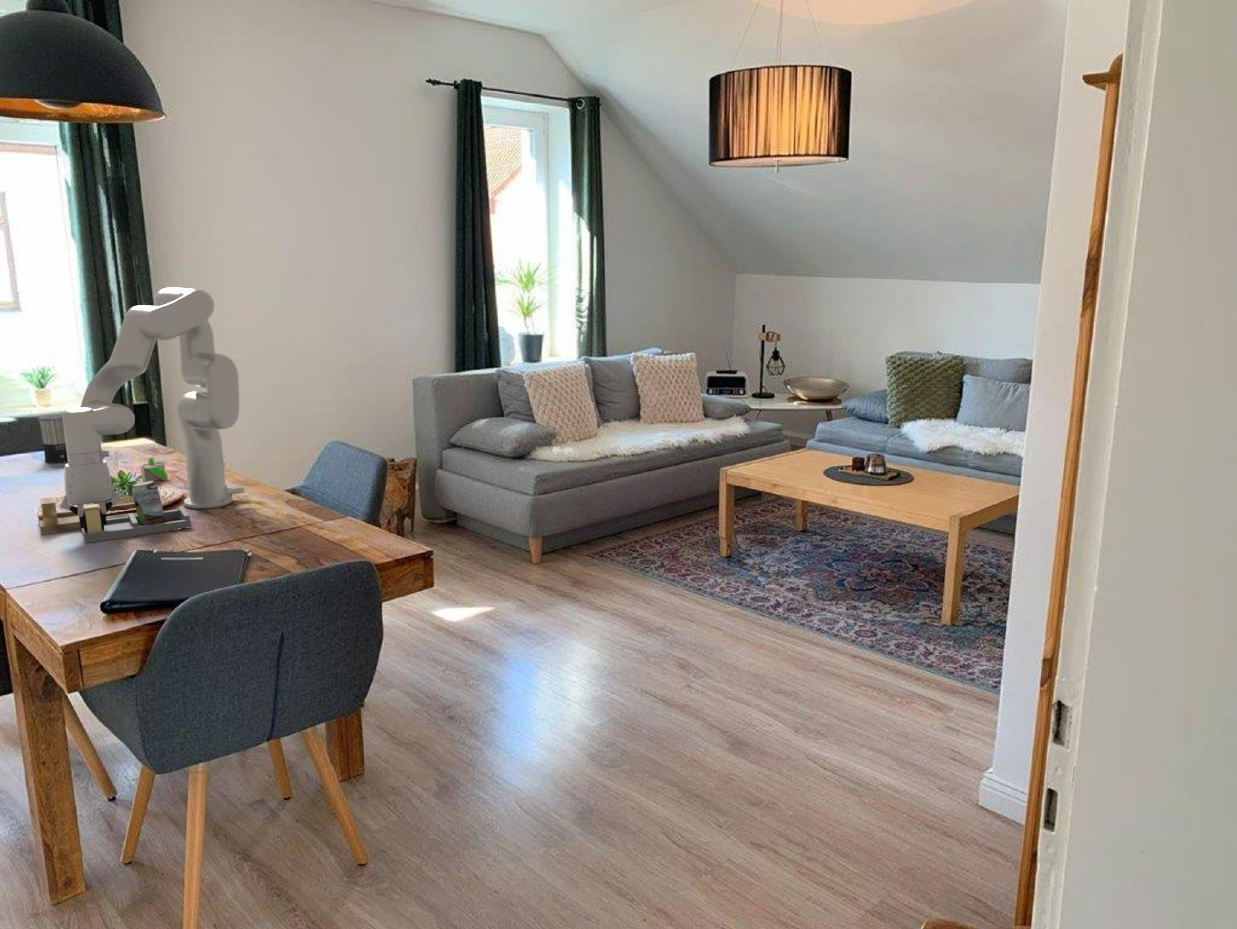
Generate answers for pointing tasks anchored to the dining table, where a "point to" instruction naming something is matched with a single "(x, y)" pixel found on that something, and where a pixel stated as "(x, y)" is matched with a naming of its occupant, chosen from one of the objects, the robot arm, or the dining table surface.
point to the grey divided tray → (129, 524)
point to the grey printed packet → (148, 503)
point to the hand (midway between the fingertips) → (94, 528)
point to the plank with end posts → (67, 517)
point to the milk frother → (53, 438)
